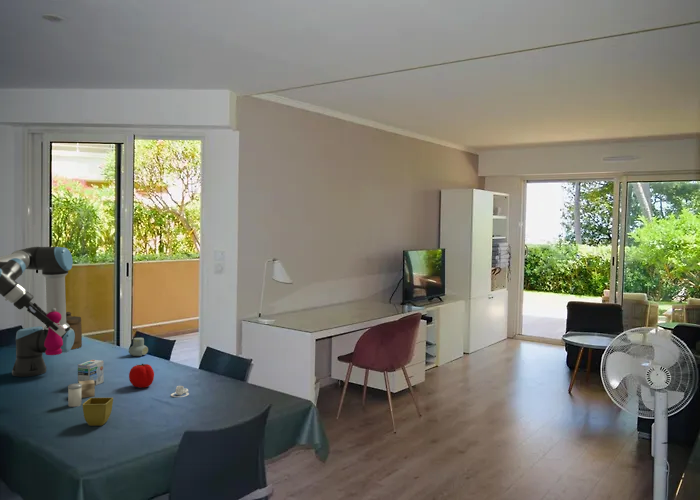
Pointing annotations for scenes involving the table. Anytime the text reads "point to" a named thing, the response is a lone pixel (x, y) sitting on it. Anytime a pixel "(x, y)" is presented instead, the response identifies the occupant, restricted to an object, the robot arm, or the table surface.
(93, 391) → the light oak block
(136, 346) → the air freshener
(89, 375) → the light bulb box
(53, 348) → the pepper mill
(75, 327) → the wooden container
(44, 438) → the table surface
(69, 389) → the salt shaker
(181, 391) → the teacup and saucer
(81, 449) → the table surface
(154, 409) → the table surface
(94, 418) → the flower pot
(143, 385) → the tomato
